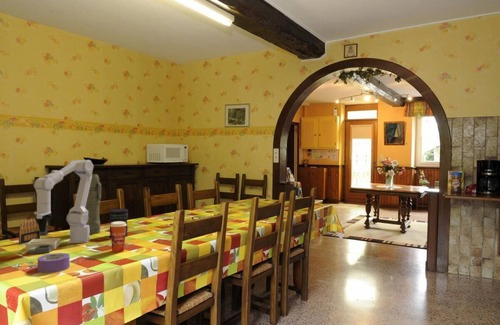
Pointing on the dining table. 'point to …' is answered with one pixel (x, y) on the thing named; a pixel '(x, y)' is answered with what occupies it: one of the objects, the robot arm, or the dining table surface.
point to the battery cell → (45, 231)
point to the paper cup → (118, 236)
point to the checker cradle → (40, 249)
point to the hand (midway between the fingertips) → (43, 231)
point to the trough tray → (44, 243)
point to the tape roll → (53, 262)
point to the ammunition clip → (28, 231)
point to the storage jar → (119, 217)
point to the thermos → (94, 205)
